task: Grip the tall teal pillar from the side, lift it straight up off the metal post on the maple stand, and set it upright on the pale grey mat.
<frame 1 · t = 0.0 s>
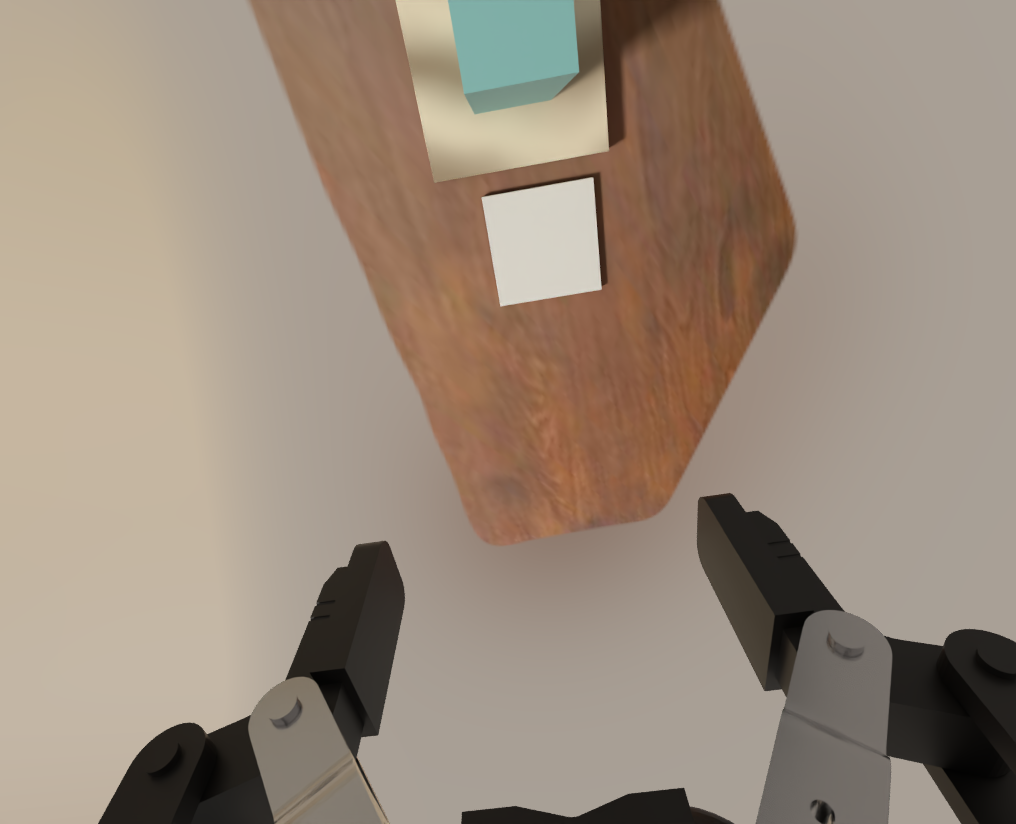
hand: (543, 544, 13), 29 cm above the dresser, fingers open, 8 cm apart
tall teal pillar: (506, 60, 31), point 1 cm above the dresser, touching post stand
mat: (543, 244, 37), on the dresser
post stand: (505, 64, 32), on the dresser
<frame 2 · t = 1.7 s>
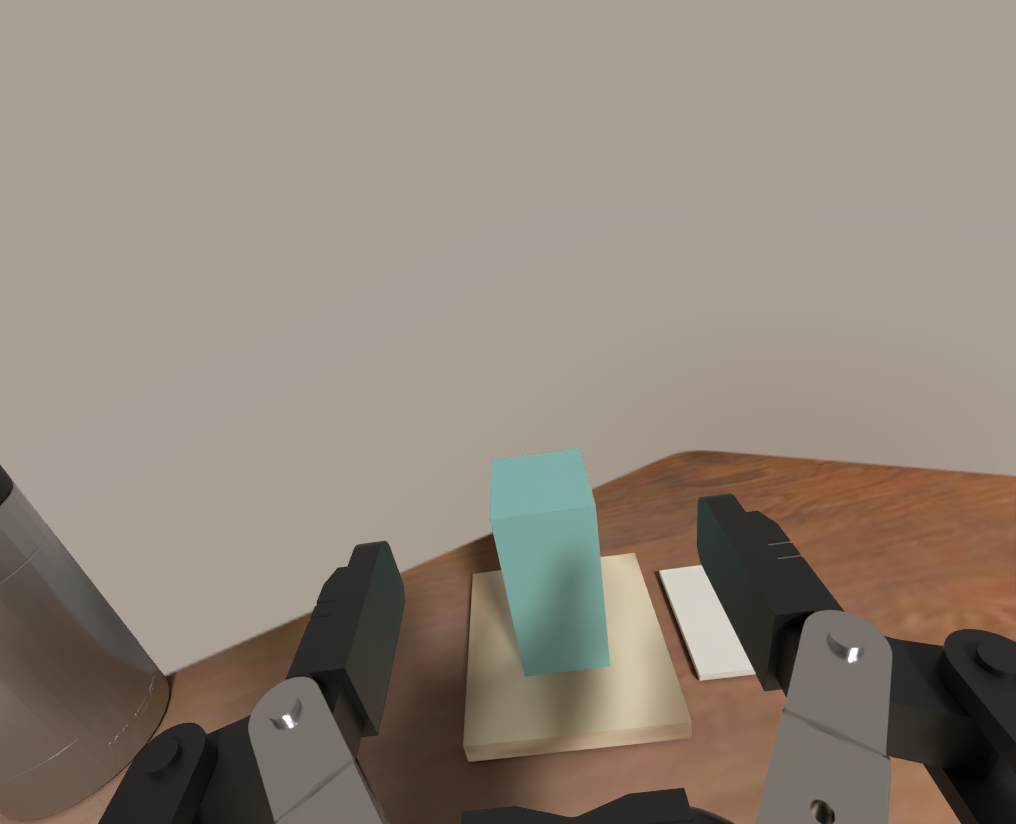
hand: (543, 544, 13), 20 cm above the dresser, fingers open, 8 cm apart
tall teal pillar: (562, 634, 31), point 1 cm above the dresser, touching post stand
mat: (739, 614, 32), on the dresser
post stand: (564, 649, 32), on the dresser
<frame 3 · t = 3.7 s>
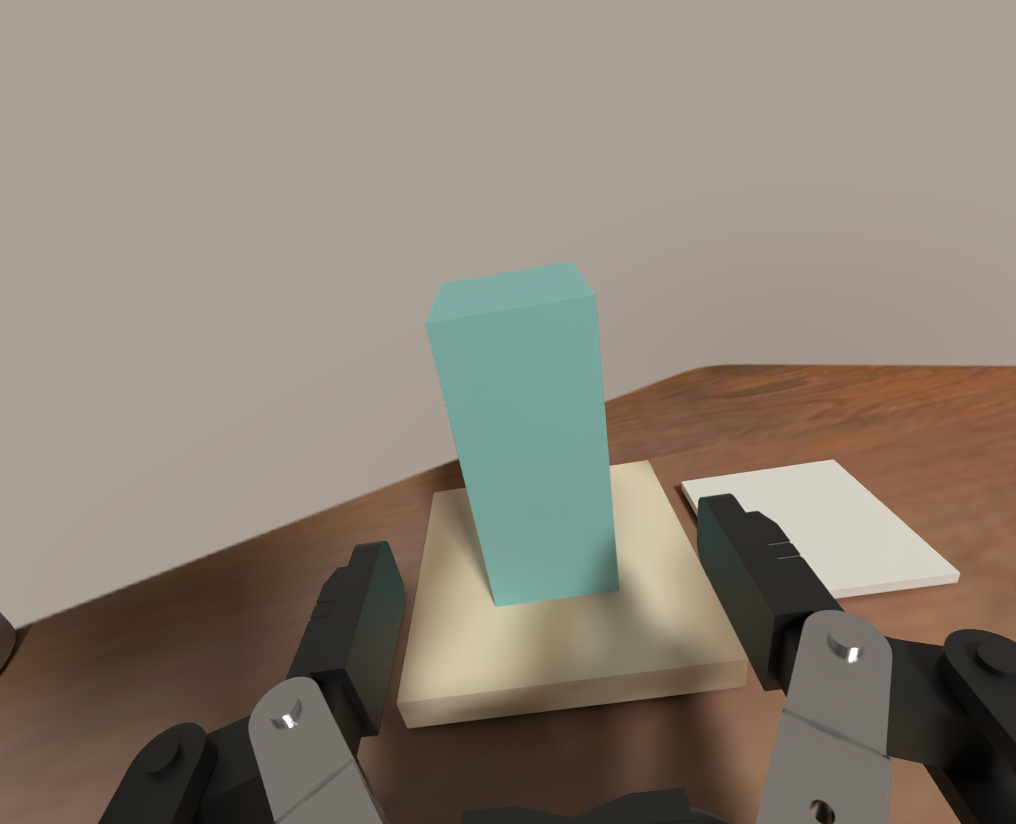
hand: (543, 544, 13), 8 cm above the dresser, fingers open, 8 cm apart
tall teal pillar: (550, 554, 22), point 1 cm above the dresser, touching post stand
mat: (796, 528, 23), on the dresser
post stand: (554, 578, 23), on the dresser
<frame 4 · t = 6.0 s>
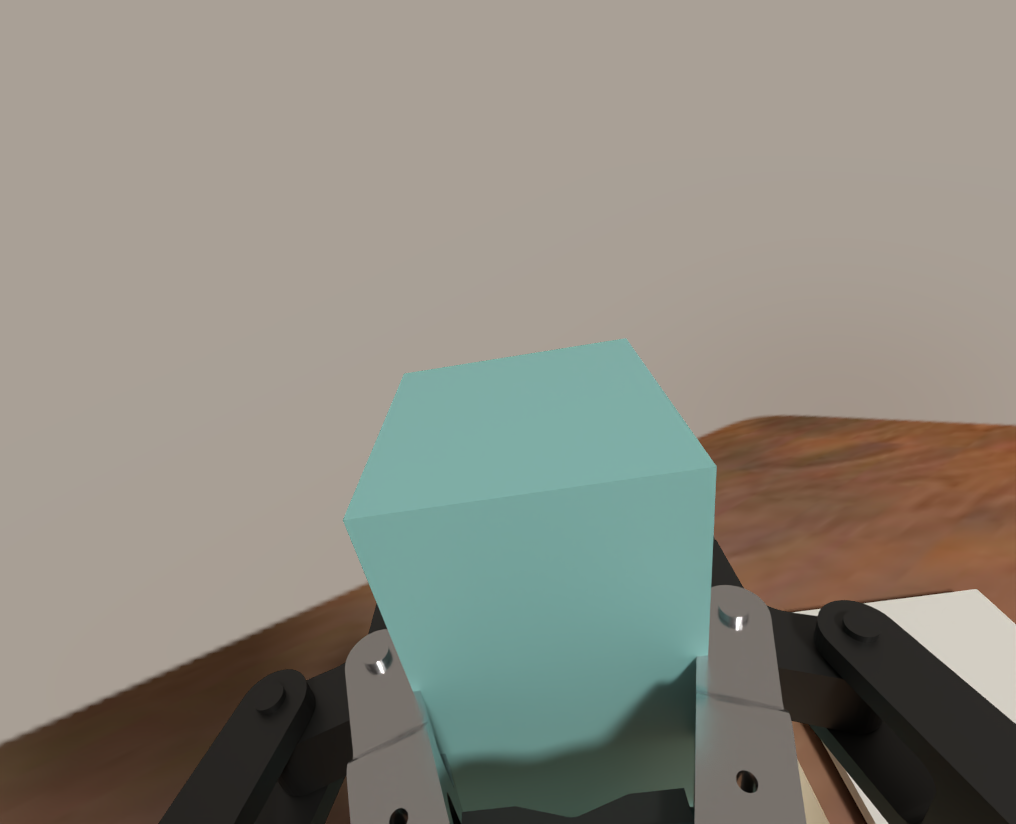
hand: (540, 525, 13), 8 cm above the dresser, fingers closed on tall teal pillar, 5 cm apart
tall teal pillar: (580, 769, 14), point 2 cm above the dresser, touching gripper, post stand
mat: (949, 718, 15), on the dresser
post stand: (584, 796, 15), on the dresser
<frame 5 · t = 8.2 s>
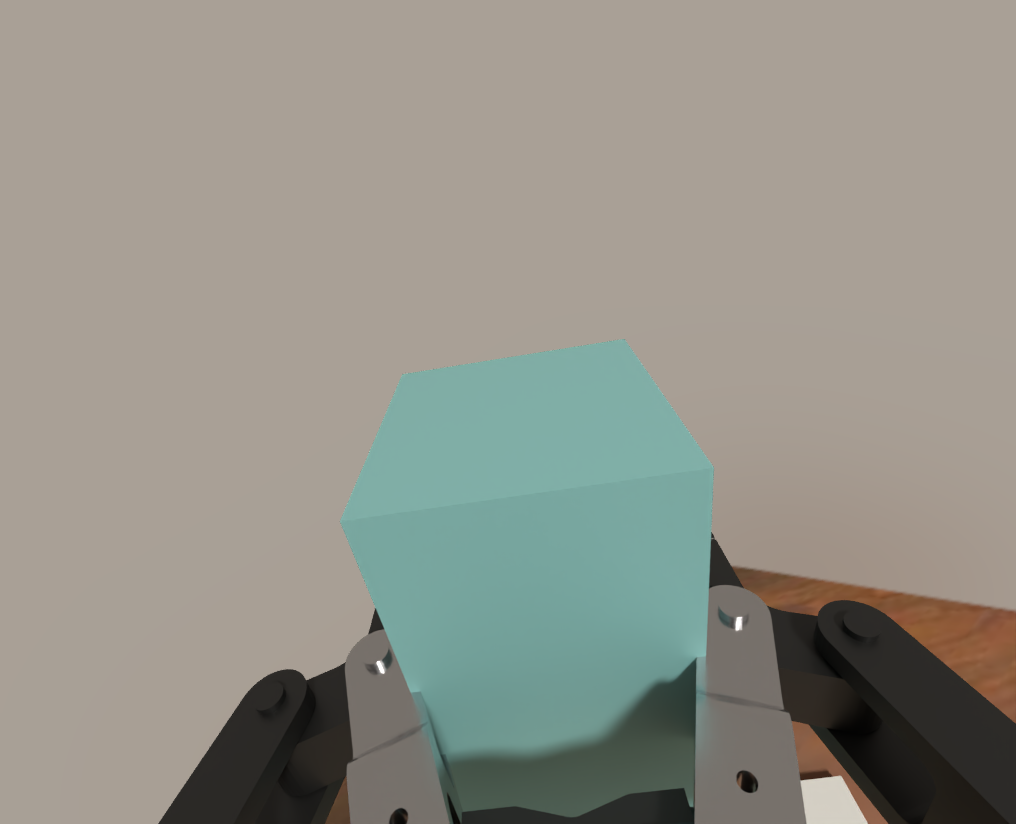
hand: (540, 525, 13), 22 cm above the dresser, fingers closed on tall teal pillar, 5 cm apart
tall teal pillar: (578, 770, 14), point 15 cm above the dresser, touching gripper
when the fingers open (9 cm above the dresser, at t = 10.6 s): tall teal pillar drops 2 cm, resting on mat.
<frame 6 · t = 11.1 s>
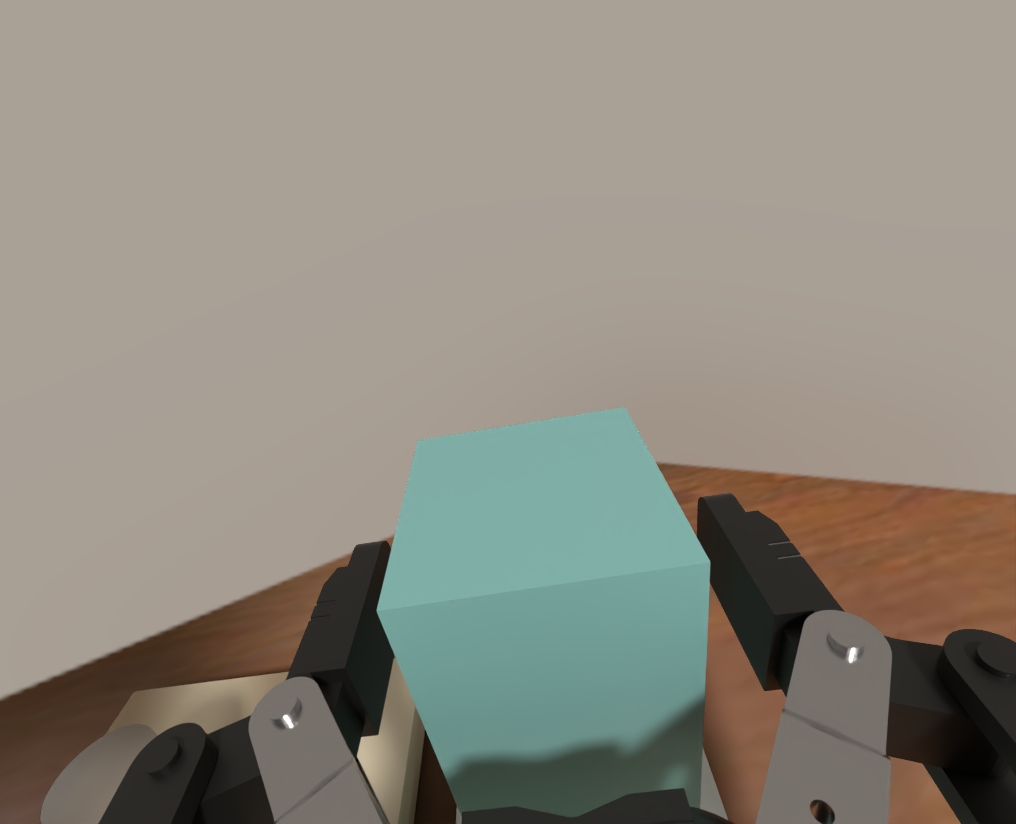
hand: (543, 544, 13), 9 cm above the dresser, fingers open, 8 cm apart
tall teal pillar: (583, 800, 15), point 1 cm above the dresser, touching mat
mat: (585, 808, 15), on the dresser
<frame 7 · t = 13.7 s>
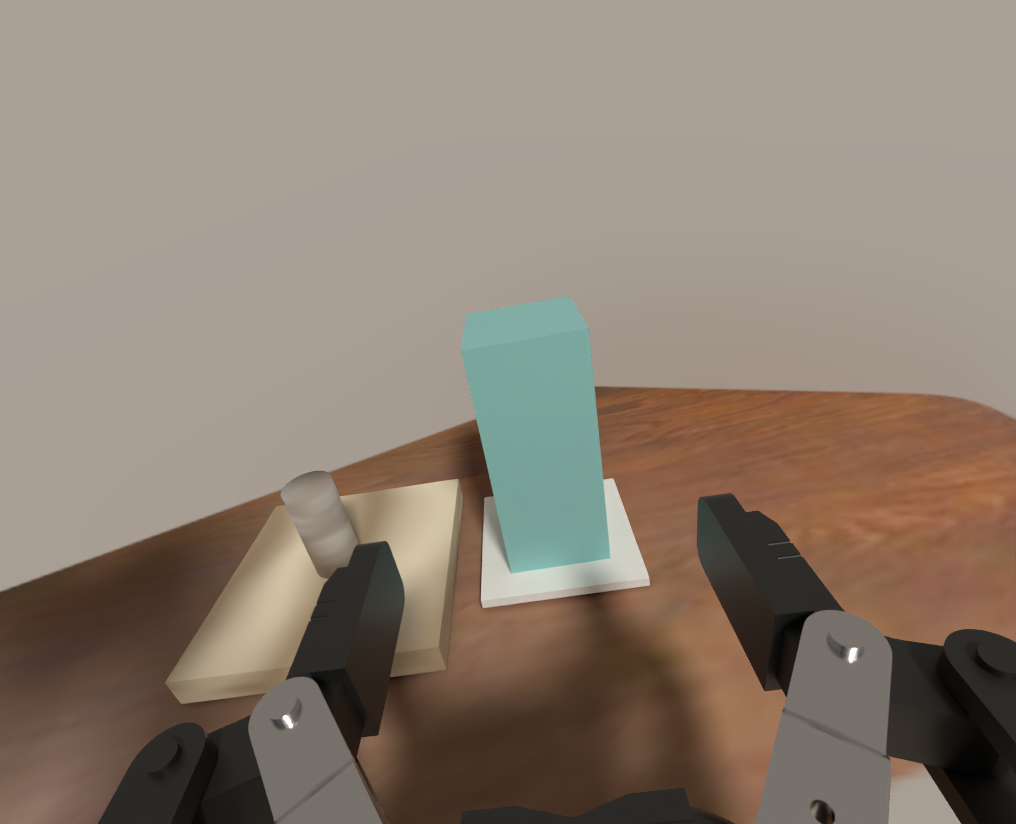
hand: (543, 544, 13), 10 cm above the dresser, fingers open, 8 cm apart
tall teal pillar: (554, 532, 27), resting on mat
mat: (556, 538, 27), on the dresser
post stand: (348, 581, 27), on the dresser
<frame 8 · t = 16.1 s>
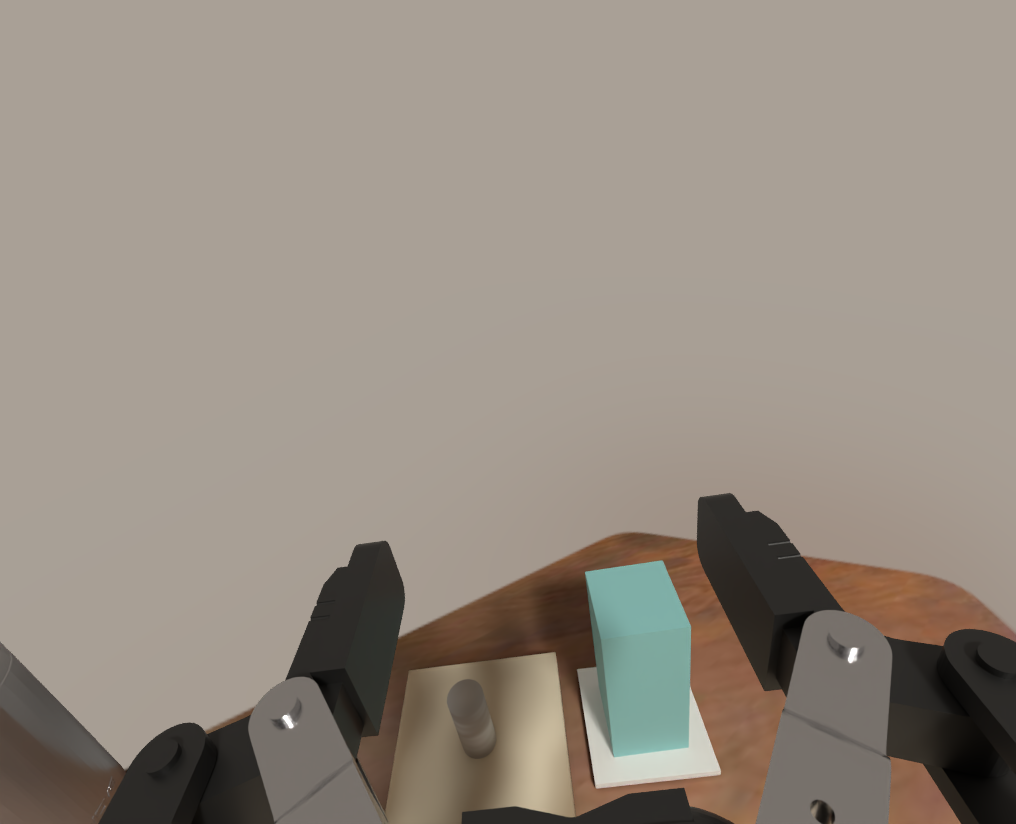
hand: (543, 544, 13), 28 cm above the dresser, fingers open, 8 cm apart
tall teal pillar: (640, 714, 35), resting on mat
mat: (641, 718, 35), on the dresser
post stand: (483, 751, 35), on the dresser
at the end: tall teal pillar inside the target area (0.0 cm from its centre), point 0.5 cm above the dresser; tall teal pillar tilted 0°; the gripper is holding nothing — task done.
